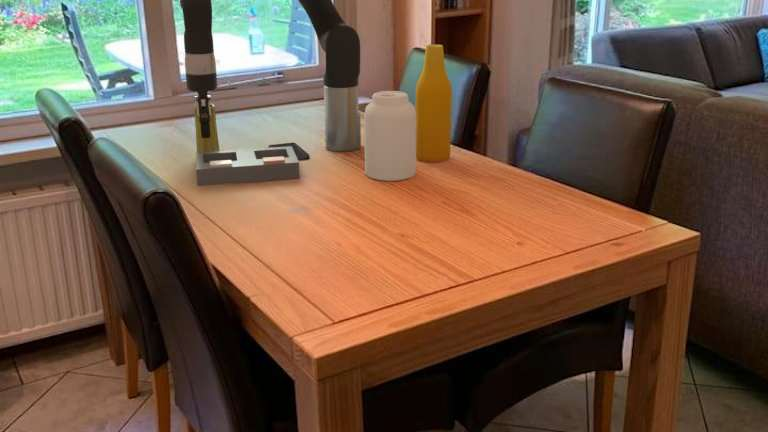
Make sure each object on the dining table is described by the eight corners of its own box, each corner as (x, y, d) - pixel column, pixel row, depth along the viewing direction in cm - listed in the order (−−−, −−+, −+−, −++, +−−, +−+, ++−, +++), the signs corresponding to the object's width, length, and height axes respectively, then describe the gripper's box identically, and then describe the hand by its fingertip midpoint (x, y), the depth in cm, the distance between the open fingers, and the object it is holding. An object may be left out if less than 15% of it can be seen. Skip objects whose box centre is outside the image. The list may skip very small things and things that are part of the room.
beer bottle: (410, 161, 198) (411, 47, 188) (420, 152, 206) (421, 42, 196) (445, 164, 195) (447, 49, 185) (453, 154, 203) (457, 43, 193)
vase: (207, 164, 196) (202, 109, 191) (192, 160, 200) (186, 106, 195) (225, 158, 201) (221, 105, 196) (210, 154, 204) (205, 102, 199)
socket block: (292, 161, 198) (291, 143, 197) (299, 178, 185) (298, 159, 183) (197, 167, 193) (195, 150, 192) (197, 185, 179) (195, 167, 178)
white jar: (355, 177, 185) (353, 95, 178) (379, 164, 195) (379, 86, 188) (401, 184, 179) (402, 100, 172) (424, 170, 190) (425, 90, 183)
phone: (281, 159, 197) (267, 145, 210) (281, 163, 198) (267, 149, 211) (310, 155, 200) (295, 142, 213) (311, 160, 201) (295, 146, 214)
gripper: (217, 75, 186) (221, 139, 192) (215, 65, 199) (219, 126, 205) (185, 76, 185) (190, 141, 190) (185, 66, 198) (191, 128, 203)
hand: (205, 133), depth 198 cm, fingers open, 8 cm apart
